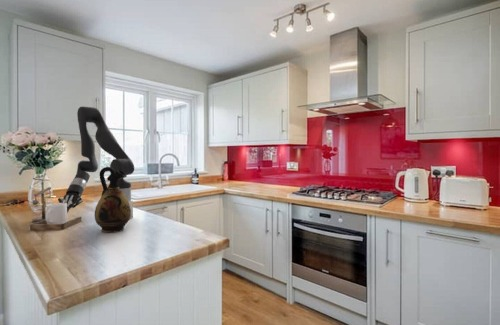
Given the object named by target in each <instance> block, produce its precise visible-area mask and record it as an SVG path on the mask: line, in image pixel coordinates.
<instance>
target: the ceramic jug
mask: <svg viewBox="0 0 500 325" xmlns="http://www.w3.org/2000/svg"><path fill="white" fill-rule="evenodd" d="M106 172H111V174H109V175H108V176H107V179H106V178H105V173H106ZM127 177H128V175H126V174H125V173H124V172H123V171H122V170H121V171H118V170H117V171H116V172H115V170H114V169H113V168H111V167H110V166H105V167H103V168H101V169H100V171H99V181H100V183H101V184H100V185H101V186H102V192H101V194H100V195H101V197H100V198H99V200H98V202H97V204H96V206H95V209H94V214H93V215H94V220H95V221H94V222H95V223H96V225H98V226H99V227H100V228H101V231H102V232H103V233H110V234H111V233H117V232H122V231H124V229H125V226H126V225H127V223H129V221H130V220H131V218H130V216H131V209H130V205H129V202H128V200H127V198H126V197H125V195H124V194H123V192H122V191H121V190H120V188H119V187H118V184H117V182H118V180H120V179H122V178H123V179H125V178H127ZM106 181H109V184H108V185H107V182H106Z"/></svg>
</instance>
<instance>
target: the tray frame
mask: <svg viewBox="0 0 500 325" xmlns="http://www.w3.org/2000/svg"><path fill="white" fill-rule="evenodd" d="M80 222H82V216H77V217H76V218H72V219H71V220H67V222H65V223H63V224H47V222H46V219H45V220H43V221H40V222H33V223H32V224H30V225H29V230H30V231H47V230H48V231H51V230H53V231H55V230H57V231H58V230H65V229H68V228H69V227H72V226H74V225H76V224H79V223H80Z"/></svg>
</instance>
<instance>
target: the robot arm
mask: <svg viewBox="0 0 500 325" xmlns="http://www.w3.org/2000/svg"><path fill="white" fill-rule="evenodd" d="M76 114H77V122H78V129H79V135H80V143H81V146H80V147H81V149H80V150H81V151H80V154H81V156H82V157H84V158H87V160H86V159H83V160H80V161H78V164H77V169H76V174H75V176H74V178H73V179H72V180H71V182H70V184H69V186H68V188H67V190H66V192H65V194H64V195H63V197H59V198H57V201H58V203H67V214H69V211H70V210H71V209H74V208H76V207H77V206H79V205H81V204H82V203H83V202H84V200H83V198H81V197H82V195H83V193H84V191H85V189H86V187H87V183H88V182H89V181H90V180H89V179H90V176H91V175H90V174H89V173H96V172H97V170H98V168H99V163H98V161H97V158H96V154H95V152H96V147H95V145H96V144H95V141H96V142H97V144H98V146H99V147H100V148H101V149H102V150H103V151H104V152H106V153H107V154H108V155H111V156H112V157H113V158H114V159H112V160H111V162H110V166H109V167H111V168H113V169H114V170H115V172H116V171H117V170H118V171H121V170H122V171H123V172H124V173H125V174H126V175H127V176H129V175H132V174H133V173H134V171H135V165H134V162H133V160H132V159H131V158H130V157H129V155H128V154H127V153H126V152H125V150H124V149H123V147H122V146H121V145H120V143H119V142H118V140H117V138H115V136H114V134H113V133H112V131H111V130H110V128H109V127H108V124H107V123H106V121H105V119H104V117H103V115H102V113H101V111H100V110H99V109H98V108H97V107H92V106H91V107H90V106H83V105H82V106H79V107H78V109H77V113H76ZM87 123H89V124H90V123H92V124H94V125H95V126H96V128H97V129H96V131H95V135H94V138H95V140H94V138H93V137H92V135H91V134H90V132H89V129H88V126H87V125H88V124H87ZM109 172H110V171H109ZM110 174H111V172H110ZM110 174H109V175H110ZM117 184H118V187H119V188H120V190H121V191H122V192H123V194H124V195H125V197H126V198H127V200H128V202H129V205H130V209H131V216H130V219H132V218H133V217H134V207H133V206H134V204H133V203H134V202H133V199H132V184H131V182H130V181H127V180H125V178H122V179H120V180H118V182H117Z"/></svg>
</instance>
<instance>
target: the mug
mask: <svg viewBox="0 0 500 325" xmlns="http://www.w3.org/2000/svg"><path fill="white" fill-rule="evenodd" d="M46 222H47V224H63V223H65V222H68V213H67V203H64V202H63V203H59V202H55V203H49V204H47V205H46Z"/></svg>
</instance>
